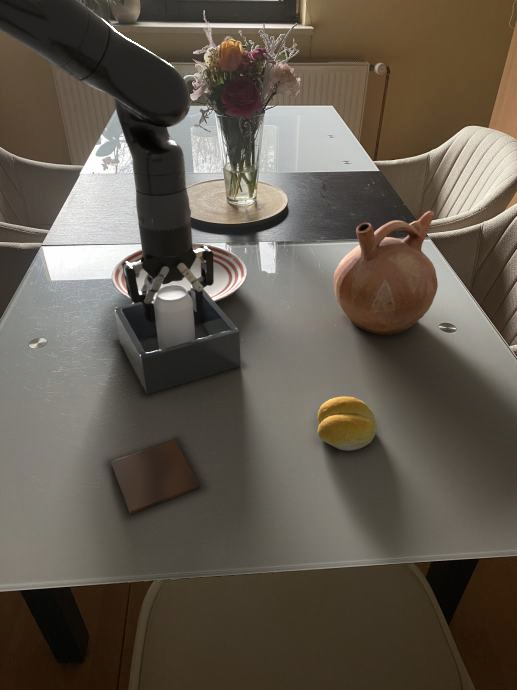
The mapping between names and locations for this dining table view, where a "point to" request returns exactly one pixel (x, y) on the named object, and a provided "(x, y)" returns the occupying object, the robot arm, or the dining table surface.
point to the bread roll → (346, 423)
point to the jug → (387, 277)
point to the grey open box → (179, 347)
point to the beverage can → (174, 316)
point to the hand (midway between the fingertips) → (174, 314)
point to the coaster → (153, 476)
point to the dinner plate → (194, 273)
